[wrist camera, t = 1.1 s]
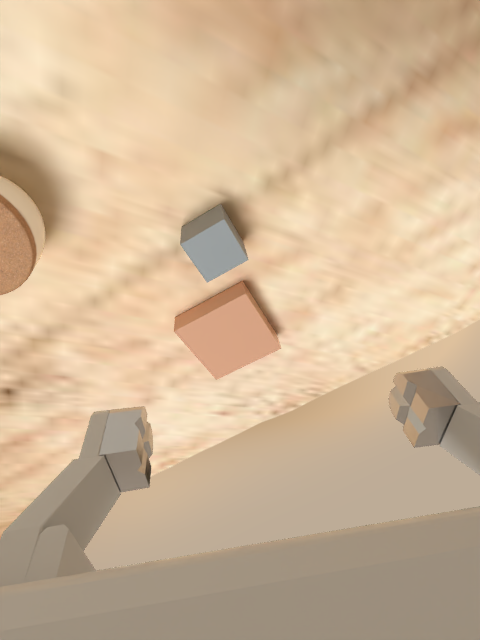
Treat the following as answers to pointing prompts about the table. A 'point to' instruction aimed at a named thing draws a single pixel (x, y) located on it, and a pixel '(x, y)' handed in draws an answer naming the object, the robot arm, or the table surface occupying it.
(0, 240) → the lidded jar
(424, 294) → the table surface
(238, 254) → the cube
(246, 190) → the table surface
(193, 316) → the pedestal
